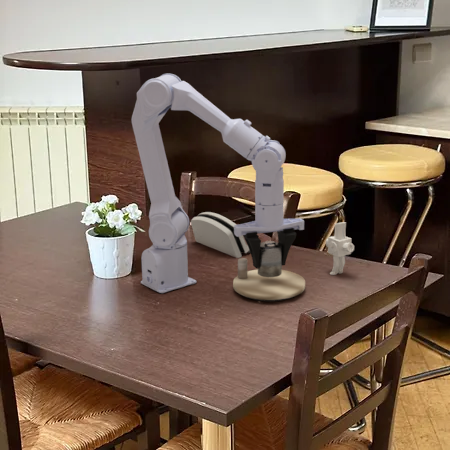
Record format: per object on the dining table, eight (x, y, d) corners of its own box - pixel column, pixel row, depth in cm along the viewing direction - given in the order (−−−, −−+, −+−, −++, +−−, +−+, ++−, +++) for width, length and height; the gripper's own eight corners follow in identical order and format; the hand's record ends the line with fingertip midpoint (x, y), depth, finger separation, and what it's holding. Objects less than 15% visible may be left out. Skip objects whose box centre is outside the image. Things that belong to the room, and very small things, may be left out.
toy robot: (344, 281, 167) (346, 228, 163) (320, 270, 173) (321, 219, 169) (357, 277, 169) (359, 224, 165) (333, 267, 175) (335, 216, 171)
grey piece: (254, 253, 185) (243, 218, 180) (240, 264, 182) (228, 228, 178) (211, 237, 197) (199, 203, 192) (197, 246, 195) (185, 213, 190)
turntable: (290, 304, 153) (291, 280, 151) (221, 293, 159) (221, 270, 157) (314, 278, 166) (315, 256, 164) (249, 269, 172) (249, 248, 170)
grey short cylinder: (278, 278, 158) (279, 247, 156) (255, 276, 159) (255, 245, 157) (283, 269, 162) (284, 239, 161) (260, 267, 164) (260, 238, 162)
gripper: (295, 194, 162) (294, 255, 166) (229, 200, 158) (230, 262, 162) (308, 202, 156) (307, 266, 160) (239, 209, 152) (240, 274, 156)
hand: (269, 265), depth 161 cm, fingers closed on grey short cylinder, 5 cm apart
